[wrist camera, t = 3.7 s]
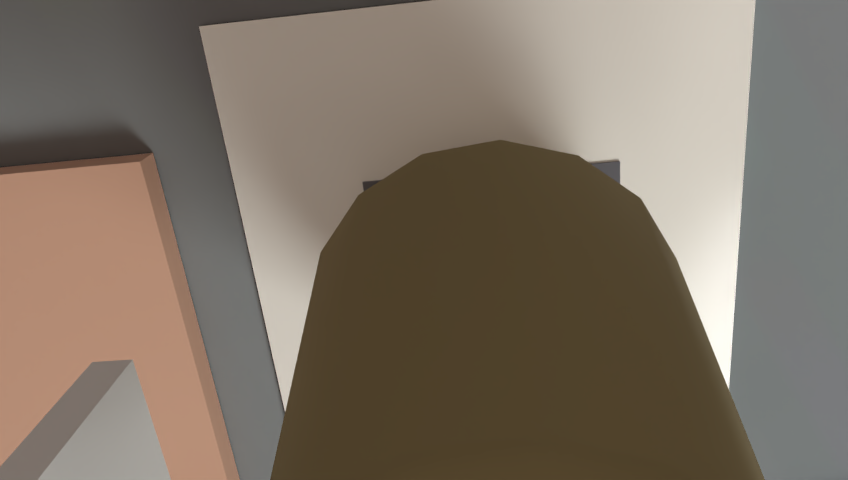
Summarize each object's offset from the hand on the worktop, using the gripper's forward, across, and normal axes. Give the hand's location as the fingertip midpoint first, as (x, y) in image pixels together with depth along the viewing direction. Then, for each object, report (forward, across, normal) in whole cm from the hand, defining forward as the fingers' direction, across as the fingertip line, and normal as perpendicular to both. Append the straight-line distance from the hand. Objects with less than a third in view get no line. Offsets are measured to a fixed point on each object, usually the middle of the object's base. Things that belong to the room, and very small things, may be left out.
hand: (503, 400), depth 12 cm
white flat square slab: (+7, 0, 0) cm, 7 cm away
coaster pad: (+7, +14, +2) cm, 16 cm away
